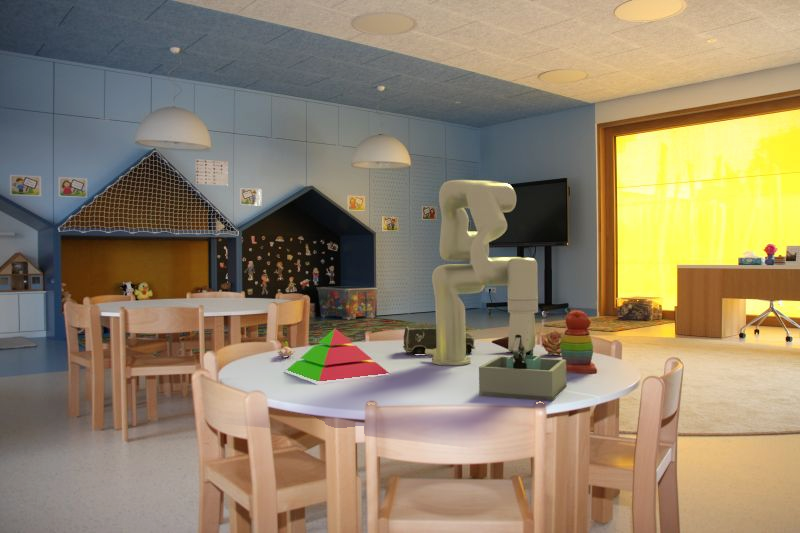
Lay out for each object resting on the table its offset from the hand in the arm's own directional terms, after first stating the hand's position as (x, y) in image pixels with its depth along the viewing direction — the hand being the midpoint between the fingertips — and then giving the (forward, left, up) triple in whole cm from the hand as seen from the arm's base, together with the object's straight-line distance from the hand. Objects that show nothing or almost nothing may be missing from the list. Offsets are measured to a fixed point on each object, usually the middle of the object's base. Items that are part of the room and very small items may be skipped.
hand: (523, 375), depth 165 cm
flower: (-4, +60, -4) cm, 60 cm away
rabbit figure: (-90, +26, -4) cm, 94 cm away
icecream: (-19, +61, -4) cm, 64 cm away
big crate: (0, 0, -4) cm, 4 cm away
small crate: (0, 0, -1) cm, 1 cm away
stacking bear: (+8, +34, -4) cm, 35 cm away
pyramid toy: (-58, +5, -5) cm, 58 cm away
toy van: (-44, +53, -4) cm, 69 cm away
